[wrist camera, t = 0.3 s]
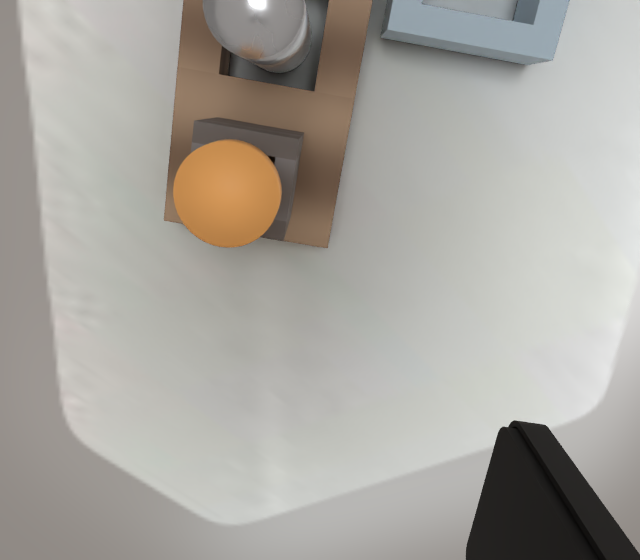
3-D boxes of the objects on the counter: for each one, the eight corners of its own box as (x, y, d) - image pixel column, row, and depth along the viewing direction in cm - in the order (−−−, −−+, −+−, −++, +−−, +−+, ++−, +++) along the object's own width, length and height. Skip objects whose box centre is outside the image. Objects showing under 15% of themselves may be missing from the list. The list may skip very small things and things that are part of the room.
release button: (213, 125, 30) (178, 132, 23) (295, 139, 30) (286, 152, 23) (204, 206, 31) (168, 237, 24) (283, 220, 31) (270, 255, 24)
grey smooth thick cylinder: (249, -6, 33) (208, -63, 21) (316, 6, 33) (312, -43, 22) (240, 66, 34) (197, 48, 23) (306, 78, 34) (295, 66, 23)
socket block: (202, -64, 32) (157, -125, 23) (375, -31, 32) (393, -79, 24) (176, 211, 37) (130, 244, 28) (327, 236, 37) (327, 277, 29)
